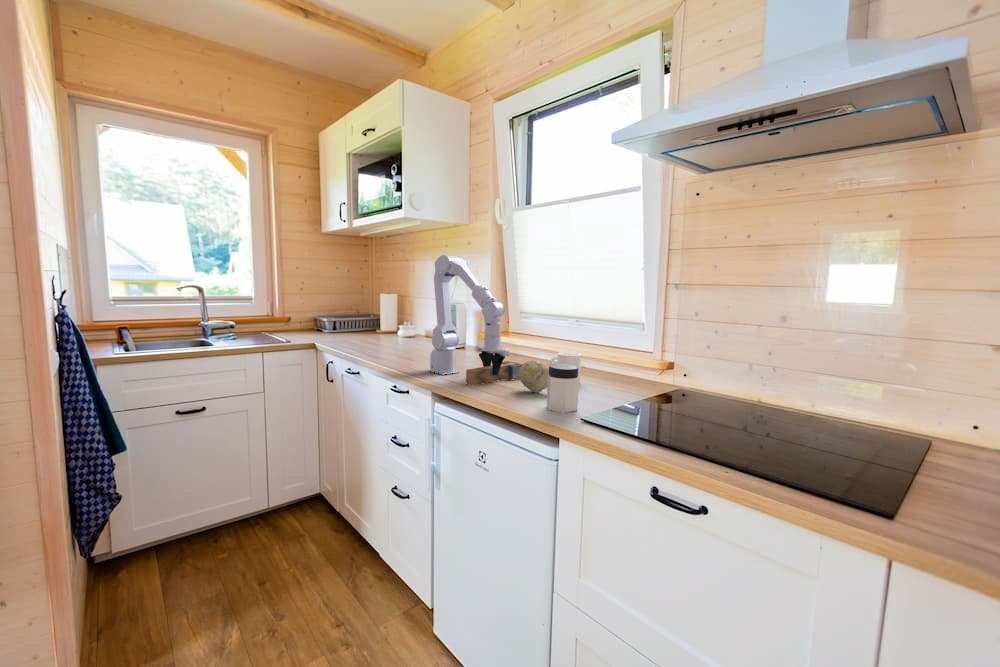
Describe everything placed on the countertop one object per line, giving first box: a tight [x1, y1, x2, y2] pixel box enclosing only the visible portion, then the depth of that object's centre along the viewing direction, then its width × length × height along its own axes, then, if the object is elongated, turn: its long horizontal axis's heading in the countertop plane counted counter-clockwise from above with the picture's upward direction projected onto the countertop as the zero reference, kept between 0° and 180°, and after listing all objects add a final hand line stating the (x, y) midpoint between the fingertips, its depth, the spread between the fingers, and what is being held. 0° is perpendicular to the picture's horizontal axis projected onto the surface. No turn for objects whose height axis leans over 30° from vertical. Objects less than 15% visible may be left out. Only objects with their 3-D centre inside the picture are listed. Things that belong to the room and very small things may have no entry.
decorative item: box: [518, 360, 550, 394], centre depth 142 cm, size 12×9×10 cm
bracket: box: [502, 360, 524, 380], centre depth 164 cm, size 10×7×5 cm
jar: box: [546, 363, 580, 414], centre depth 123 cm, size 9×8×12 cm
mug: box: [549, 351, 582, 382], centre depth 159 cm, size 12×8×10 cm
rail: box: [465, 363, 517, 386], centre depth 157 cm, size 22×4×5 cm, turn 136°
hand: (491, 373), depth 157 cm, fingers closed on rail, 3 cm apart
